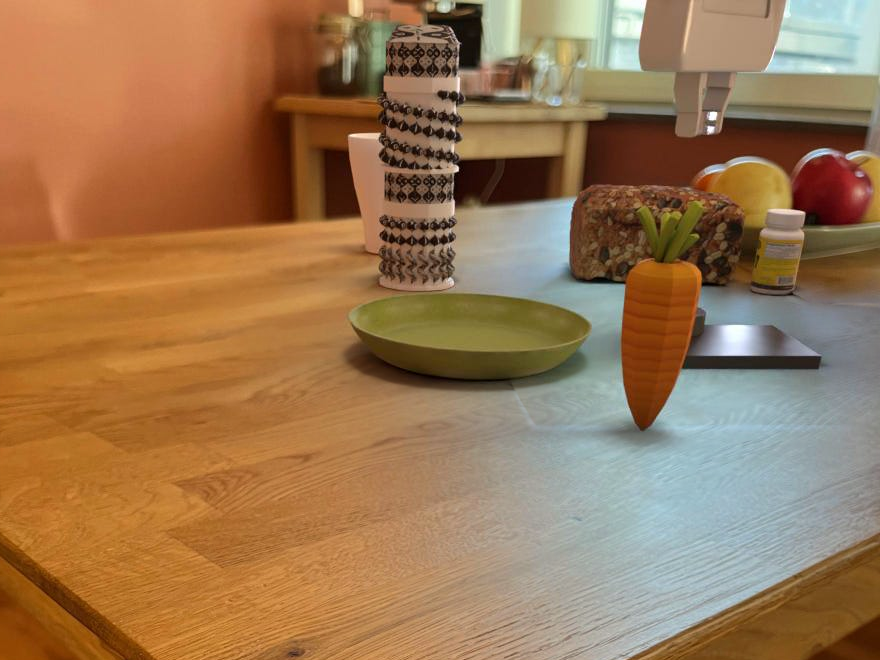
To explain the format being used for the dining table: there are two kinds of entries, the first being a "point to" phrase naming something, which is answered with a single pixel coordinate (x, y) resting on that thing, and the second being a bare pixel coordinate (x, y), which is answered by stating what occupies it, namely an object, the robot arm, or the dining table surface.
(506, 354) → the saucer
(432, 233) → the decorative candle
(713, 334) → the scale
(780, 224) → the supplement bottle
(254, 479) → the dining table surface
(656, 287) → the carrot
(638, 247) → the bread
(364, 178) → the cup
